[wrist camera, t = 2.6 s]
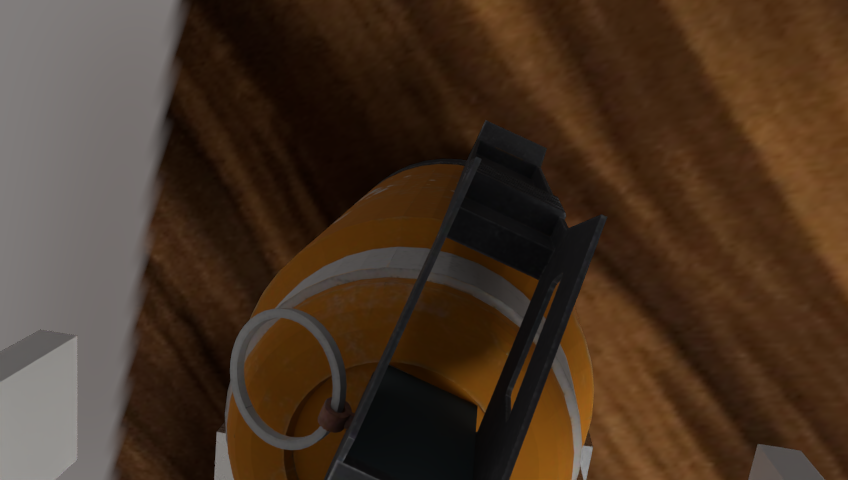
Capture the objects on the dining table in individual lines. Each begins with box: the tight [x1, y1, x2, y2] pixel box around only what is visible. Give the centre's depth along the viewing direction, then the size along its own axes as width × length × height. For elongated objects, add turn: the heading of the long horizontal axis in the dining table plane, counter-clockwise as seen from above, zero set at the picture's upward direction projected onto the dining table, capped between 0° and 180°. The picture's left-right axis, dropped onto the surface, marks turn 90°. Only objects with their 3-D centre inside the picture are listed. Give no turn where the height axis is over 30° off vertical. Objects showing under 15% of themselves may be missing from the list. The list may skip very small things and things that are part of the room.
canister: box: [225, 121, 607, 480], centre depth 19 cm, size 9×11×20 cm
